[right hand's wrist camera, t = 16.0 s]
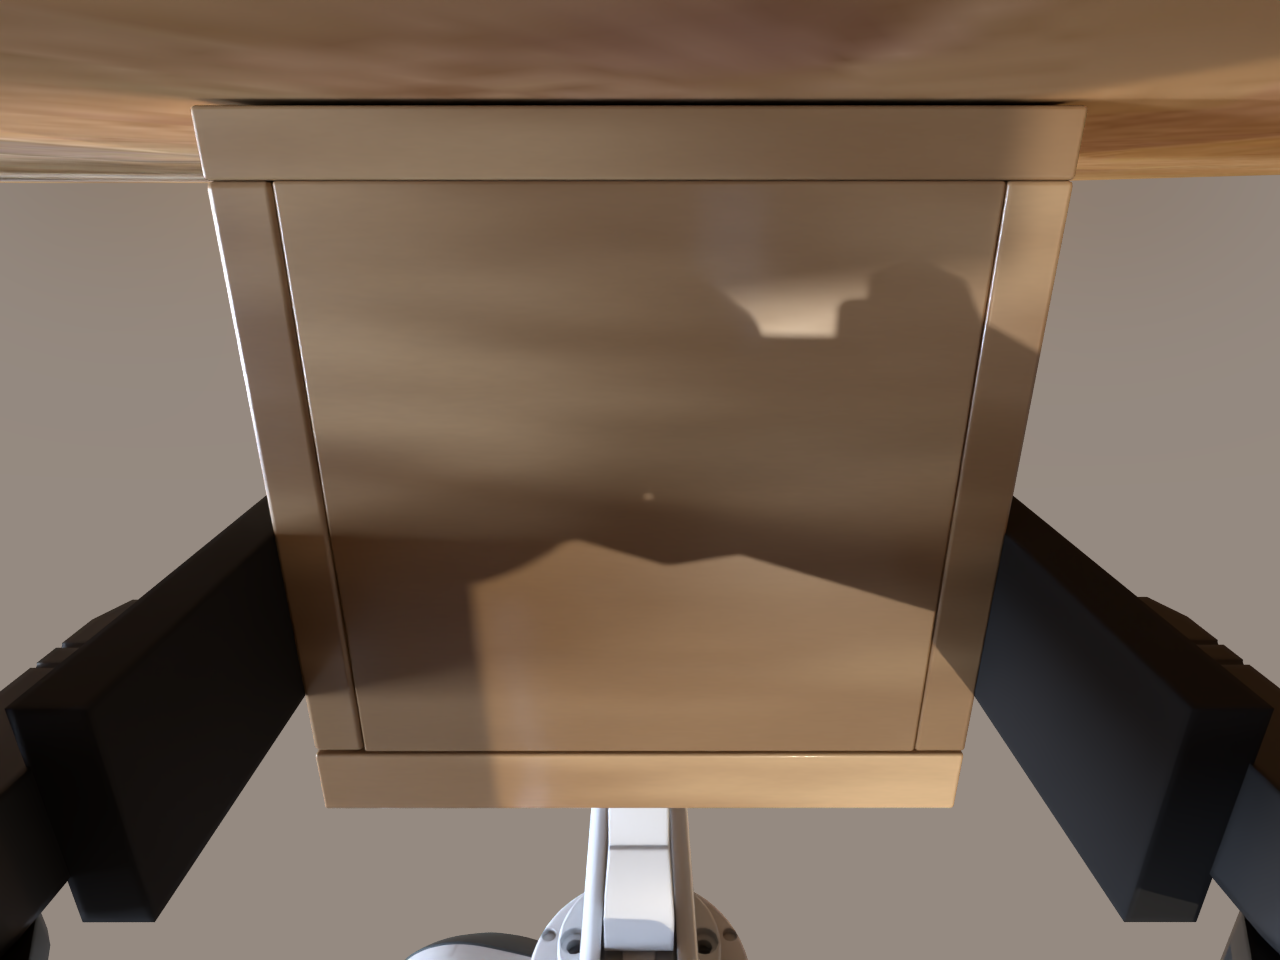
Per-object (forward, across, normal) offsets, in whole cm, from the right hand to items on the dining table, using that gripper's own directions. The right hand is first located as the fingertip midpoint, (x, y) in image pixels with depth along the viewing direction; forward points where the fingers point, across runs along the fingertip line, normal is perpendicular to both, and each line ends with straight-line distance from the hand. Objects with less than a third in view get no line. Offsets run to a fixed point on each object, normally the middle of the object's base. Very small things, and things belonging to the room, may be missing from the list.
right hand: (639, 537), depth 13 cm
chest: (+4, 0, -7) cm, 8 cm away
